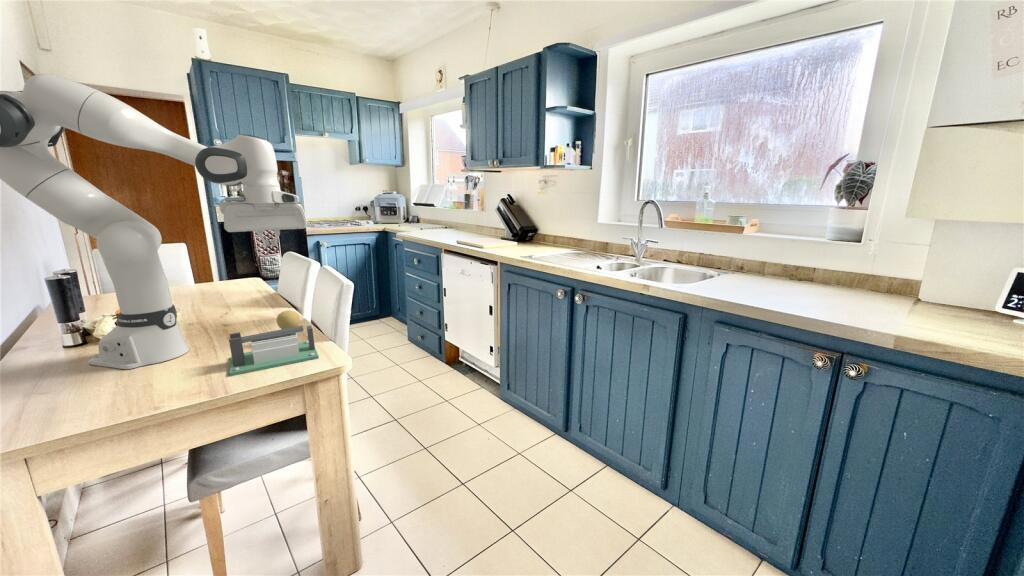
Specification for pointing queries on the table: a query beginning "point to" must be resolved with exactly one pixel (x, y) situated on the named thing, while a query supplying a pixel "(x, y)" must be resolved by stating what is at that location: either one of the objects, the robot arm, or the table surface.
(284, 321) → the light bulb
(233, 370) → the board
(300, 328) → the strap
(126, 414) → the table surface
